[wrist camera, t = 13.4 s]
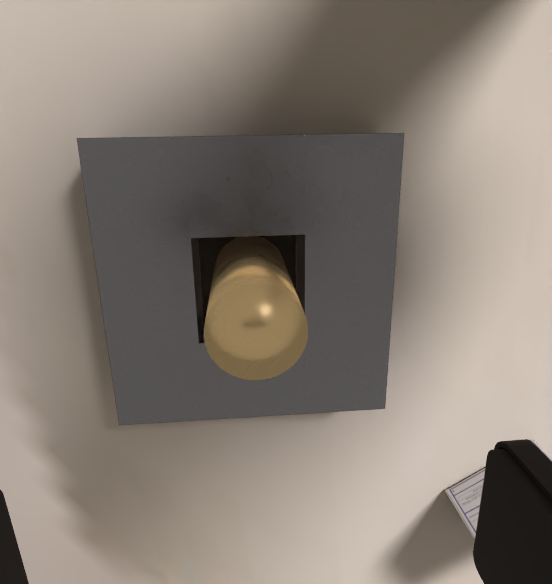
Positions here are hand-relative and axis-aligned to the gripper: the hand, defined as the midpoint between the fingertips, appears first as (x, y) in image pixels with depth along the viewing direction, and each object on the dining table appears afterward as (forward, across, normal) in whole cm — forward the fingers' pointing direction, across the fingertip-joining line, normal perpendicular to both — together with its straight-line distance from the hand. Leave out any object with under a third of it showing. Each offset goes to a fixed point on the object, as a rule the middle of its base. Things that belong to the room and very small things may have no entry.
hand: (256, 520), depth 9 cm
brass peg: (+20, 0, +1) cm, 21 cm away
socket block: (+20, 0, +1) cm, 21 cm away
